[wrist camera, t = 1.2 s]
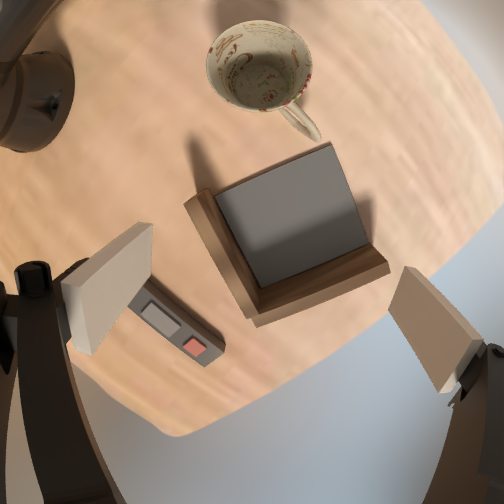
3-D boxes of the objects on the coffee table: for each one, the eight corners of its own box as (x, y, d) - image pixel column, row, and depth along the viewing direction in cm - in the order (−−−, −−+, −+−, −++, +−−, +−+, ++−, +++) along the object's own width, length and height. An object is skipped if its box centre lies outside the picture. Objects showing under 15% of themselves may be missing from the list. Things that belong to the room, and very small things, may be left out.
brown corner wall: (197, 193, 33) (183, 204, 27) (329, 134, 30) (343, 132, 24) (254, 302, 37) (252, 329, 32) (372, 253, 34) (390, 272, 29)
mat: (215, 196, 33) (214, 196, 32) (331, 145, 30) (331, 145, 30) (261, 286, 36) (261, 288, 36) (367, 242, 34) (368, 243, 33)
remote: (122, 290, 38) (115, 298, 35) (138, 270, 36) (131, 278, 34) (206, 358, 41) (203, 369, 39) (225, 344, 40) (223, 354, 38)
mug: (260, 41, 26) (259, 3, 17) (339, 116, 29) (370, 106, 19) (207, 88, 28) (184, 66, 19) (287, 164, 31) (297, 172, 22)
